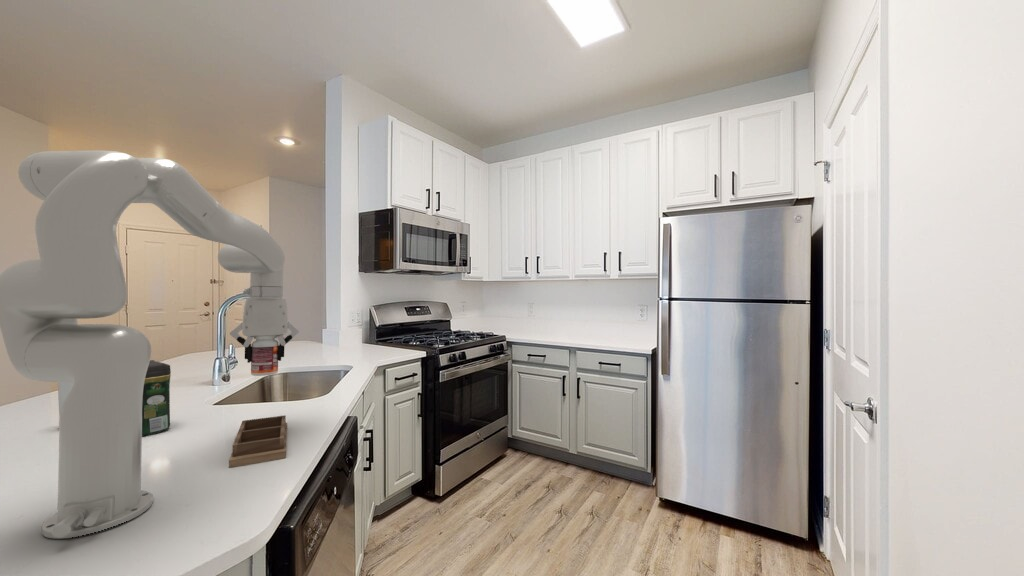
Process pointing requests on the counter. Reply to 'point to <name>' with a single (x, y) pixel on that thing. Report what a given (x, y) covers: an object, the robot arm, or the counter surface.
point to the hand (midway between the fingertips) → (264, 360)
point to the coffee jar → (156, 398)
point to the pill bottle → (264, 356)
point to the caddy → (259, 441)
